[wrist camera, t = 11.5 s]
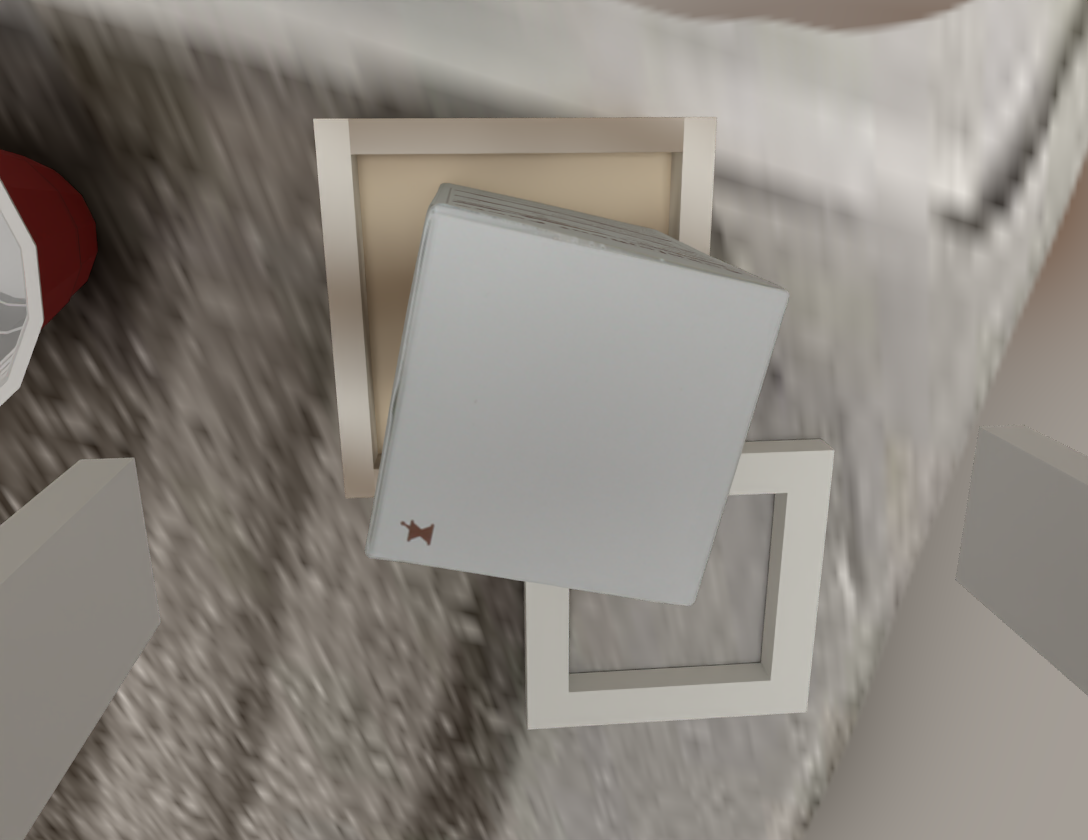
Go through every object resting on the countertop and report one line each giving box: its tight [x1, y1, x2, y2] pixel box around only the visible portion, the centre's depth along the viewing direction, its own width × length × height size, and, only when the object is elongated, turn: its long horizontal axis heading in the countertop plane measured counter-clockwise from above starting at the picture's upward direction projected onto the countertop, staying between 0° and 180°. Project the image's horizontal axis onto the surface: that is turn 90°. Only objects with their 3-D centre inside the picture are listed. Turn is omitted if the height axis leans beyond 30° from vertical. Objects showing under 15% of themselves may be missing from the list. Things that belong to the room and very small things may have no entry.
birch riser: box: [313, 117, 717, 498], centre depth 32 cm, size 12×12×10 cm
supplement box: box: [365, 183, 790, 606], centre depth 23 cm, size 7×7×13 cm
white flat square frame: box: [524, 439, 835, 730], centre depth 41 cm, size 14×14×2 cm
